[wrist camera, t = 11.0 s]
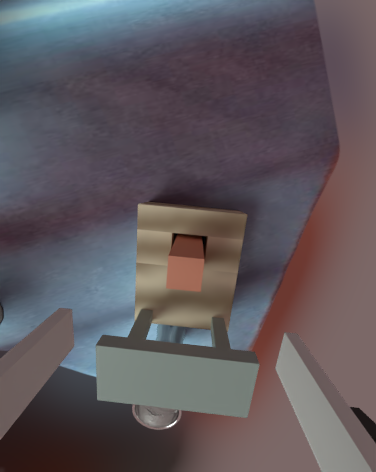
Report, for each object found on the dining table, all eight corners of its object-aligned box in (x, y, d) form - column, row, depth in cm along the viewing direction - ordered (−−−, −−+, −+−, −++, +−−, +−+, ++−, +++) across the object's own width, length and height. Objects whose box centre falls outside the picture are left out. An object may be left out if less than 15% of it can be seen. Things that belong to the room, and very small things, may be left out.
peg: (179, 230, 34) (168, 255, 20) (201, 232, 34) (204, 259, 20) (177, 250, 35) (166, 288, 21) (198, 252, 35) (200, 291, 21)
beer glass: (163, 347, 40) (144, 435, 26) (149, 321, 39) (121, 398, 24) (193, 338, 39) (191, 424, 25) (180, 310, 38) (170, 385, 23)
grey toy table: (135, 284, 30) (95, 345, 18) (233, 294, 30) (259, 364, 18) (134, 321, 32) (97, 399, 20) (227, 331, 32) (247, 417, 20)
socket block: (148, 201, 33) (138, 203, 27) (238, 210, 33) (247, 214, 27) (144, 301, 38) (134, 321, 32) (222, 309, 37) (227, 331, 32)
